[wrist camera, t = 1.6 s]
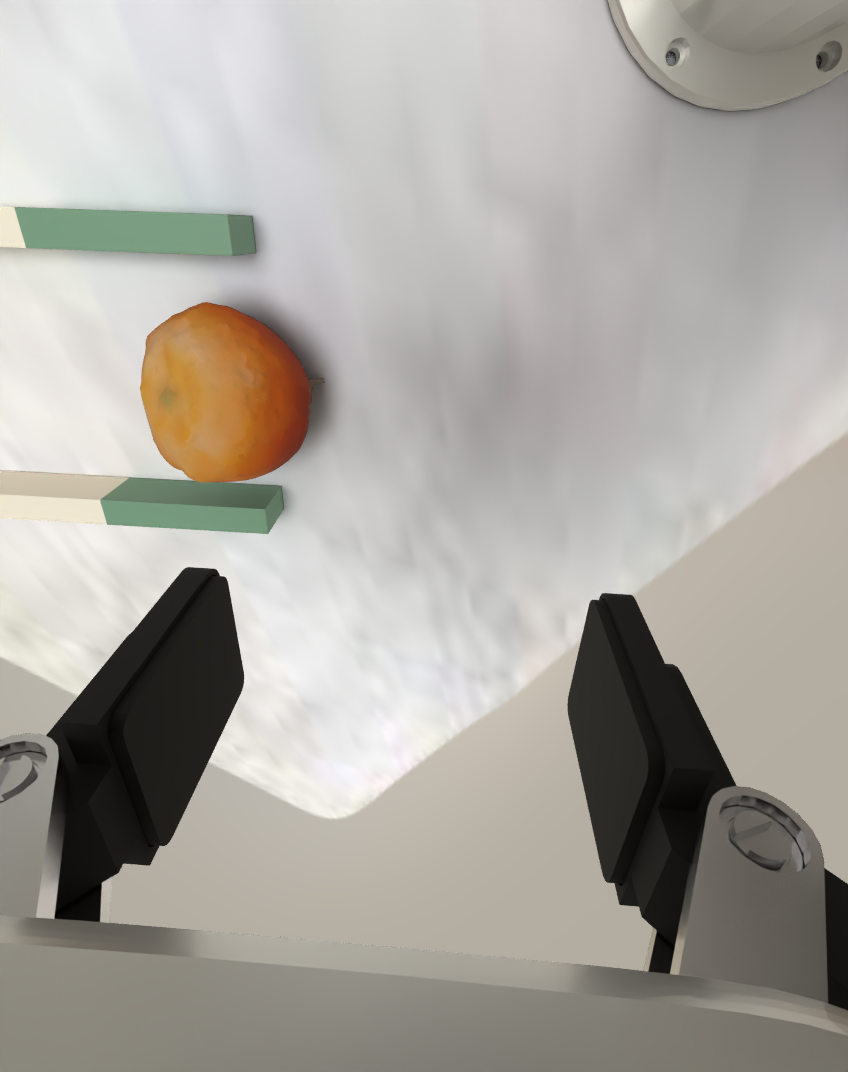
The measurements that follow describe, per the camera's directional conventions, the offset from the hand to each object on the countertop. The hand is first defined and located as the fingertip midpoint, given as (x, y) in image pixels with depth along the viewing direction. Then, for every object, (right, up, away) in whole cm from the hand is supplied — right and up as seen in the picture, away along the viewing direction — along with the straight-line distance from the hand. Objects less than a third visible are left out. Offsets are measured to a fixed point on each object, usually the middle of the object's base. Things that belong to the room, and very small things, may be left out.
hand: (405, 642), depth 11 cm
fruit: (-9, +11, +18) cm, 22 cm away
